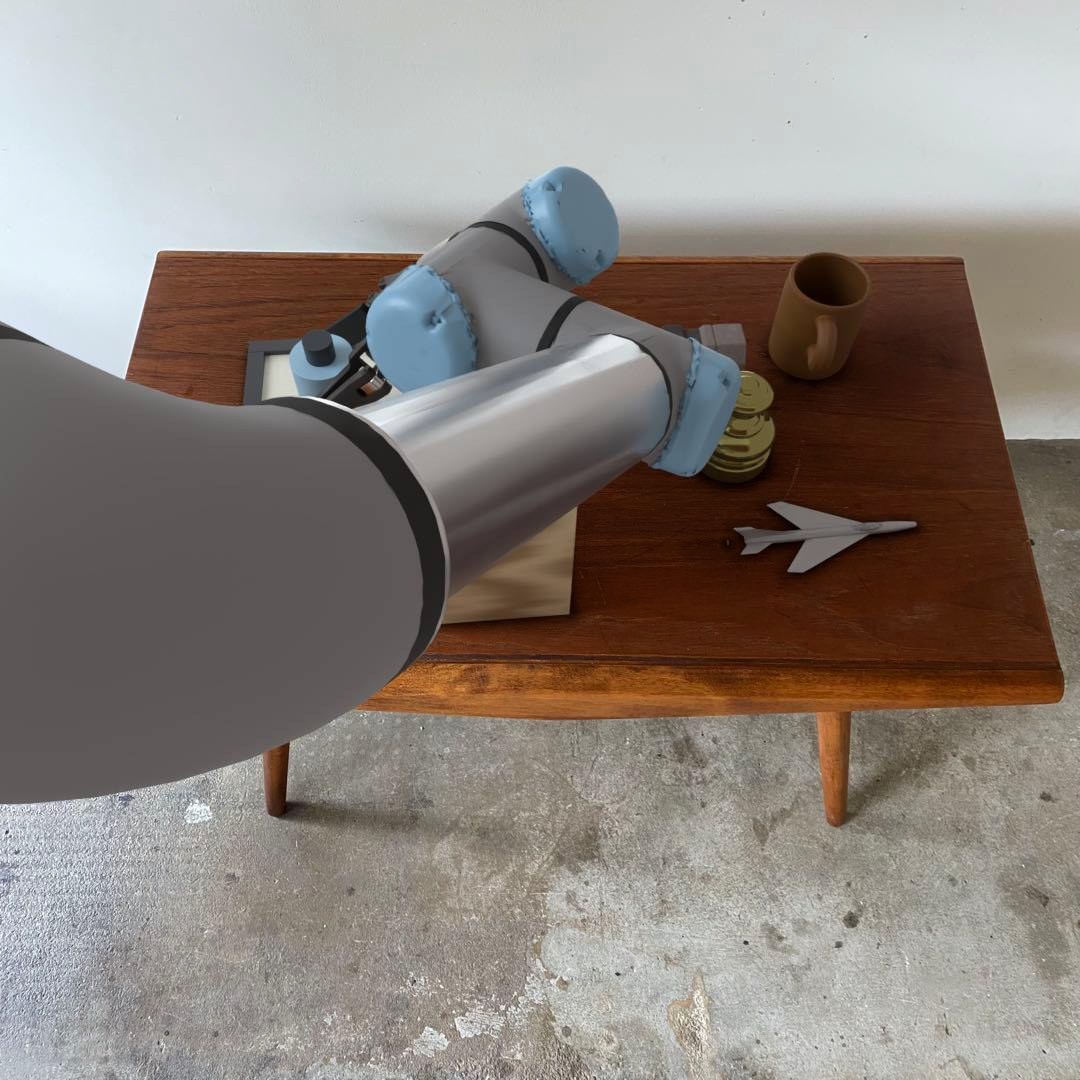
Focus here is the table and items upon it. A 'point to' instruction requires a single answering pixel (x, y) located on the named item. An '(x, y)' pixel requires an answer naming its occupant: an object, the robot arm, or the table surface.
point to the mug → (819, 315)
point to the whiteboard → (277, 371)
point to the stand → (523, 580)
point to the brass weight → (745, 434)
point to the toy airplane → (815, 534)
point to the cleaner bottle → (318, 361)
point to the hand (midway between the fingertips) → (305, 388)
